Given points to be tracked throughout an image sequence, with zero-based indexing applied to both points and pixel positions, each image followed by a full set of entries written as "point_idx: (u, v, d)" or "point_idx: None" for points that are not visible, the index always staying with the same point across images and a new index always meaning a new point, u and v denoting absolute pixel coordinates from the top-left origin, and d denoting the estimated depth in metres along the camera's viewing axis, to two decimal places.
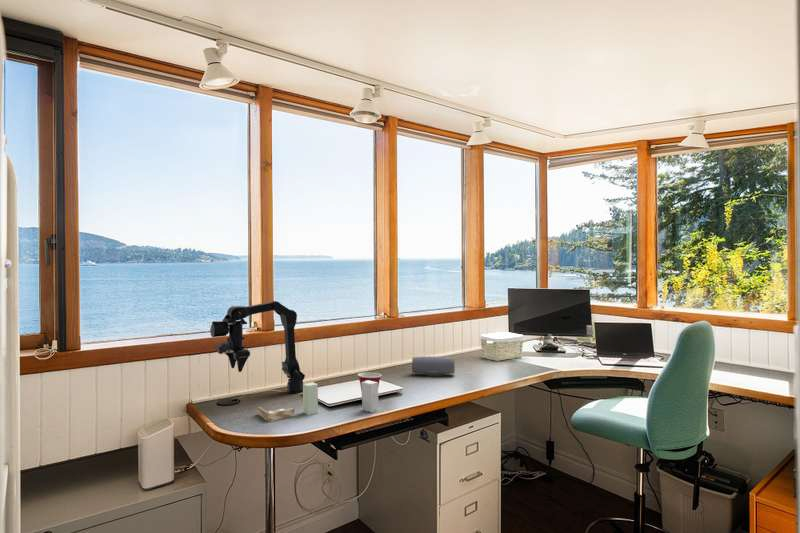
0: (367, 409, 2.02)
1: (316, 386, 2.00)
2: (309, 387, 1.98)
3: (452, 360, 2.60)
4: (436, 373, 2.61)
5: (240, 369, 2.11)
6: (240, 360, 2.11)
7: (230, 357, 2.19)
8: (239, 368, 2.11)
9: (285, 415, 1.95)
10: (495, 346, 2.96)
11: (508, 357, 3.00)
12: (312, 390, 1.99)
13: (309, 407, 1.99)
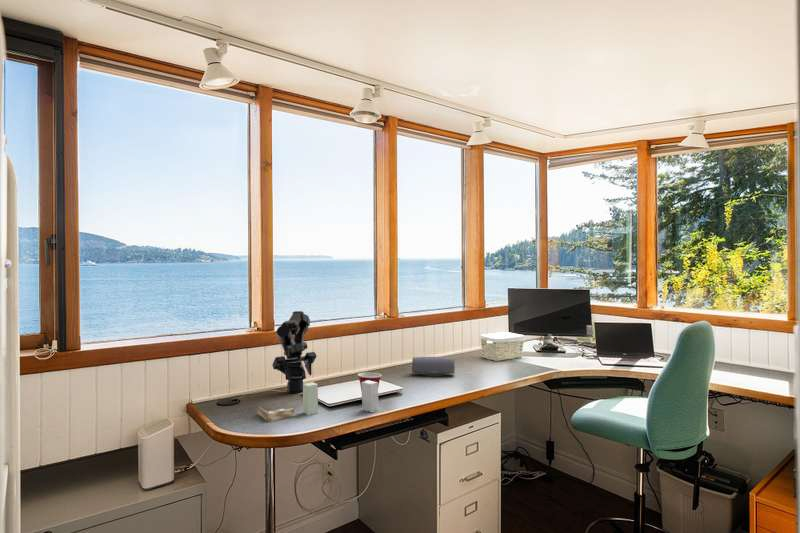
0: (367, 409, 2.02)
1: (316, 386, 2.00)
2: (309, 387, 1.98)
3: (452, 360, 2.60)
4: (436, 373, 2.61)
5: None
6: None
7: None
8: None
9: (285, 415, 1.95)
10: (495, 346, 2.96)
11: (508, 357, 3.00)
12: (312, 390, 1.99)
13: (309, 407, 1.99)
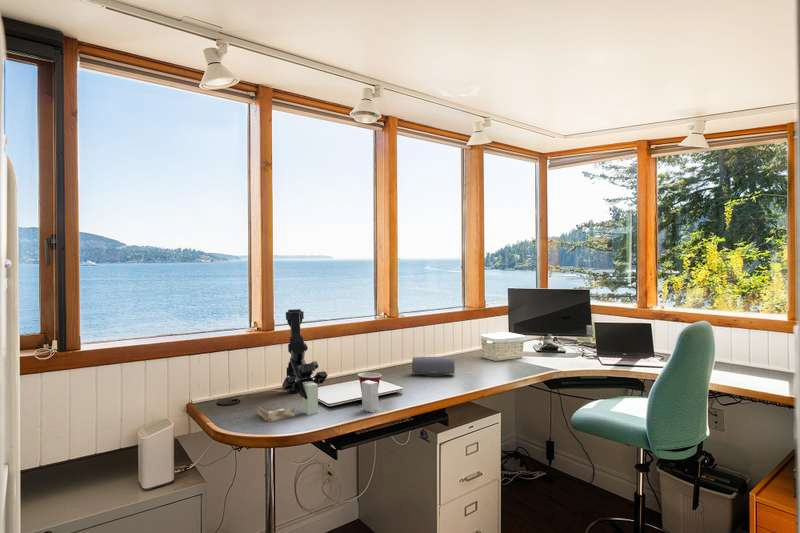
0: (367, 409, 2.02)
1: (316, 386, 2.00)
2: (309, 387, 1.98)
3: (452, 360, 2.60)
4: (436, 373, 2.61)
5: None
6: None
7: None
8: None
9: (285, 415, 1.95)
10: (494, 346, 2.96)
11: (508, 357, 3.00)
12: (312, 390, 1.99)
13: (309, 407, 1.99)
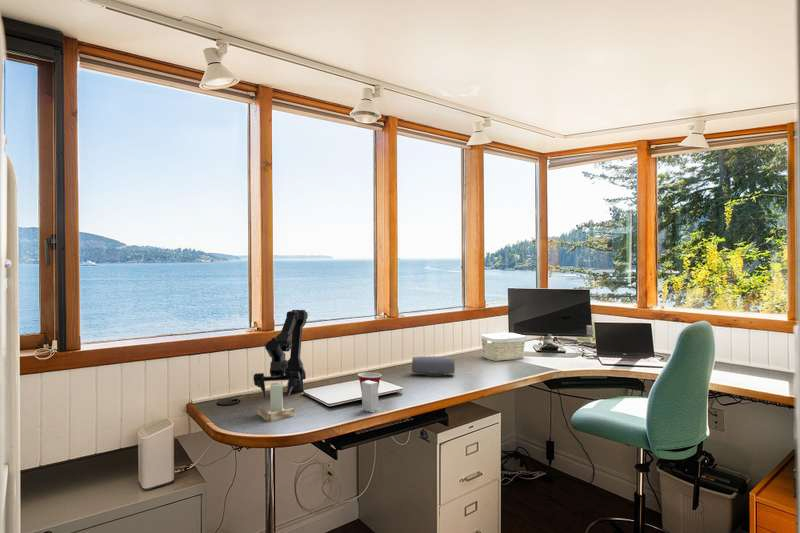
0: (367, 409, 2.02)
1: (280, 387, 1.97)
2: (272, 387, 1.96)
3: (452, 360, 2.60)
4: (436, 372, 2.61)
5: None
6: None
7: (264, 385, 2.00)
8: (289, 391, 2.00)
9: (285, 415, 1.95)
10: (493, 346, 2.96)
11: (508, 357, 2.99)
12: (275, 391, 1.97)
13: (272, 407, 1.97)
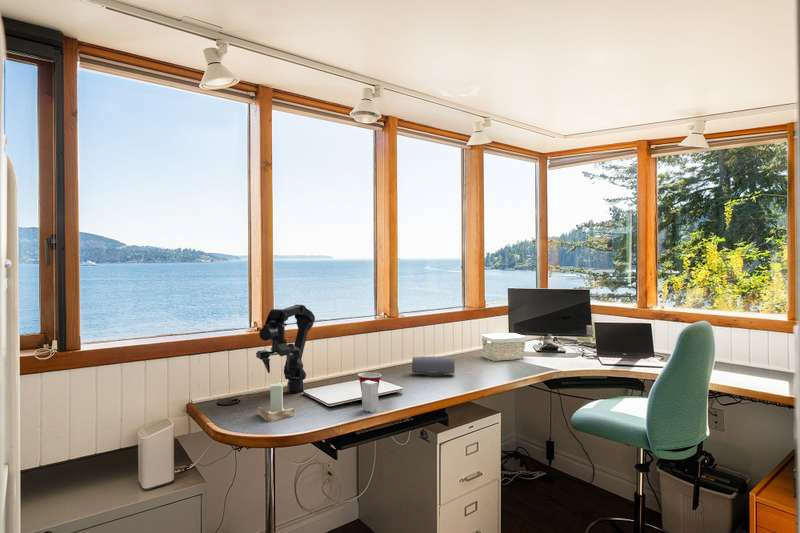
0: (367, 409, 2.02)
1: (280, 387, 1.97)
2: (272, 387, 1.96)
3: (452, 360, 2.60)
4: (436, 372, 2.61)
5: None
6: None
7: None
8: None
9: (285, 415, 1.95)
10: (493, 346, 2.96)
11: (507, 358, 2.98)
12: (275, 391, 1.97)
13: (272, 407, 1.97)
